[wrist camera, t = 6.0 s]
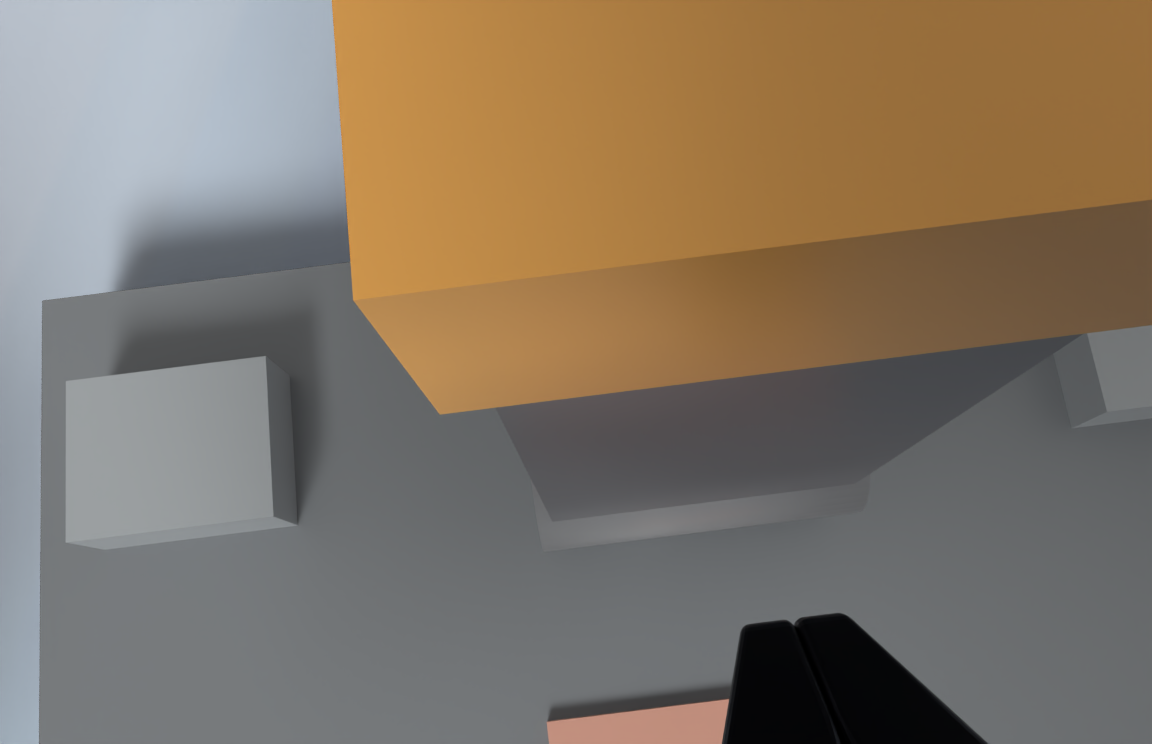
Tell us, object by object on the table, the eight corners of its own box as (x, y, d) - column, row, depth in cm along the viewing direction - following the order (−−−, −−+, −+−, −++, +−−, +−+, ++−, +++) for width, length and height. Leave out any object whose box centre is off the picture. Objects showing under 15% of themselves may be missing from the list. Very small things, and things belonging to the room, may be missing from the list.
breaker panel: (1440, 1063, 16) (1643, 1166, 13) (106, 1228, 16) (-18, 1372, 13) (1188, 197, 19) (1299, 111, 16) (99, 335, 19) (1, 276, 16)
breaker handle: (842, 521, 16) (1547, 150, 4) (548, 558, 16) (352, 298, 4) (813, 366, 16) (1345, -365, 4) (531, 402, 16) (316, -235, 4)
